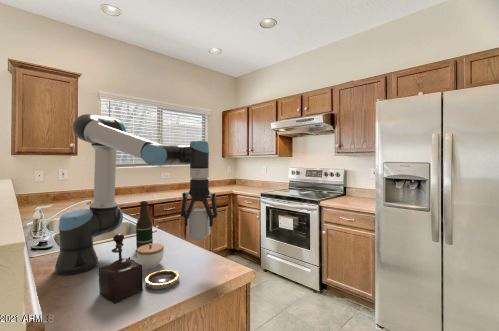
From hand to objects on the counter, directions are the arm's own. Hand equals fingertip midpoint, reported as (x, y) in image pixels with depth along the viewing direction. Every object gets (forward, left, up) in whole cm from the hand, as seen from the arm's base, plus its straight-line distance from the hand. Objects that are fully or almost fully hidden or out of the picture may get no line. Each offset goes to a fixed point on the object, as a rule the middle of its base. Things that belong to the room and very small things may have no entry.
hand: (199, 233), depth 108 cm
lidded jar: (-22, +2, -15) cm, 26 cm away
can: (0, 0, -2) cm, 2 cm away
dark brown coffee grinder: (-24, -19, -15) cm, 34 cm away
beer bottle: (-34, +21, -15) cm, 42 cm away
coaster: (-11, -12, -15) cm, 22 cm away
